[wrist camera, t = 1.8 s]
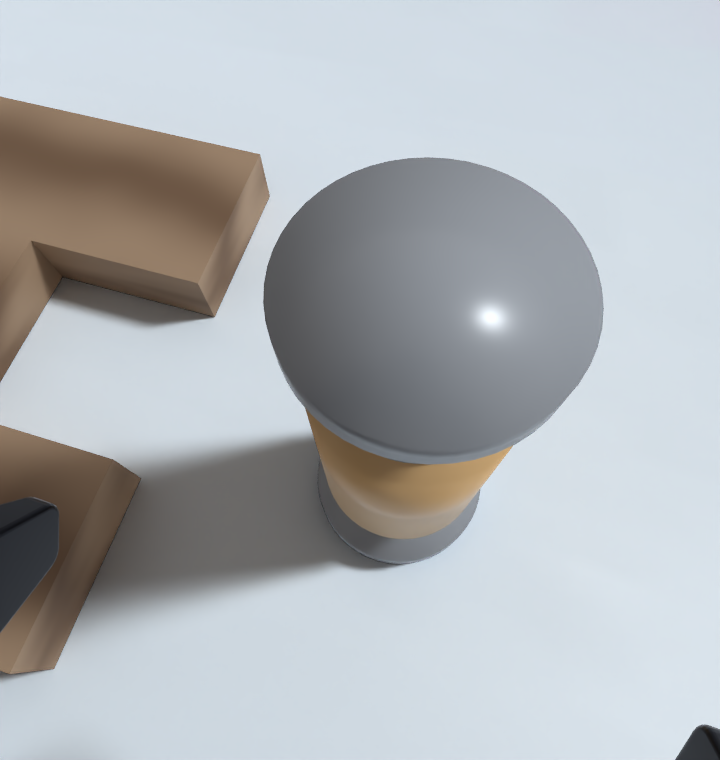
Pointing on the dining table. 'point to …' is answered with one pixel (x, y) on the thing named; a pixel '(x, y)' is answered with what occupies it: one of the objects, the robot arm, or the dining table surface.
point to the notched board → (108, 270)
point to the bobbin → (426, 339)
